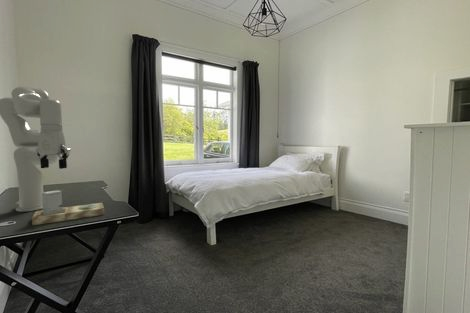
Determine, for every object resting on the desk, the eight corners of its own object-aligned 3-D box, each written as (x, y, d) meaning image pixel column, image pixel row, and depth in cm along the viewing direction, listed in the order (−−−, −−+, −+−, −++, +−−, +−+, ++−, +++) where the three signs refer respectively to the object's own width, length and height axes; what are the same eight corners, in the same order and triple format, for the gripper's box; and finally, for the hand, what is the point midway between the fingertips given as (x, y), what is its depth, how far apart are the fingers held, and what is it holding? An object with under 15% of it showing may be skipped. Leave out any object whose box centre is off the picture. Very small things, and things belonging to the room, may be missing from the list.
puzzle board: (32, 225, 98) (31, 217, 98) (36, 217, 108) (36, 210, 108) (104, 214, 113) (104, 207, 112) (102, 208, 123) (102, 202, 122)
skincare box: (47, 221, 103) (46, 193, 102) (42, 220, 105) (40, 192, 105) (63, 217, 109) (62, 190, 108) (58, 216, 111) (56, 189, 110)
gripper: (26, 128, 103) (29, 168, 104) (60, 128, 99) (62, 169, 101) (44, 129, 110) (46, 166, 112) (75, 129, 107) (77, 167, 108)
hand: (53, 168), depth 106 cm, fingers open, 9 cm apart
